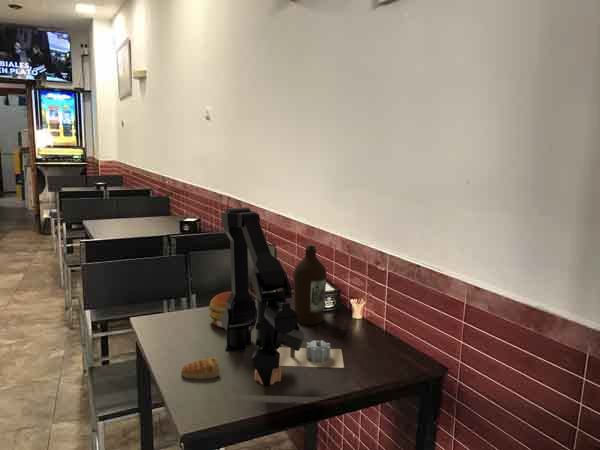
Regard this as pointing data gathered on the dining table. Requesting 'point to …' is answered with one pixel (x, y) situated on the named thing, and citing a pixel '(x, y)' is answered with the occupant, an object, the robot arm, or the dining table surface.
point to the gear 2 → (318, 351)
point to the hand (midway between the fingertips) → (268, 378)
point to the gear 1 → (274, 377)
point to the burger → (218, 308)
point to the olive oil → (309, 288)
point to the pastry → (201, 369)
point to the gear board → (299, 359)
